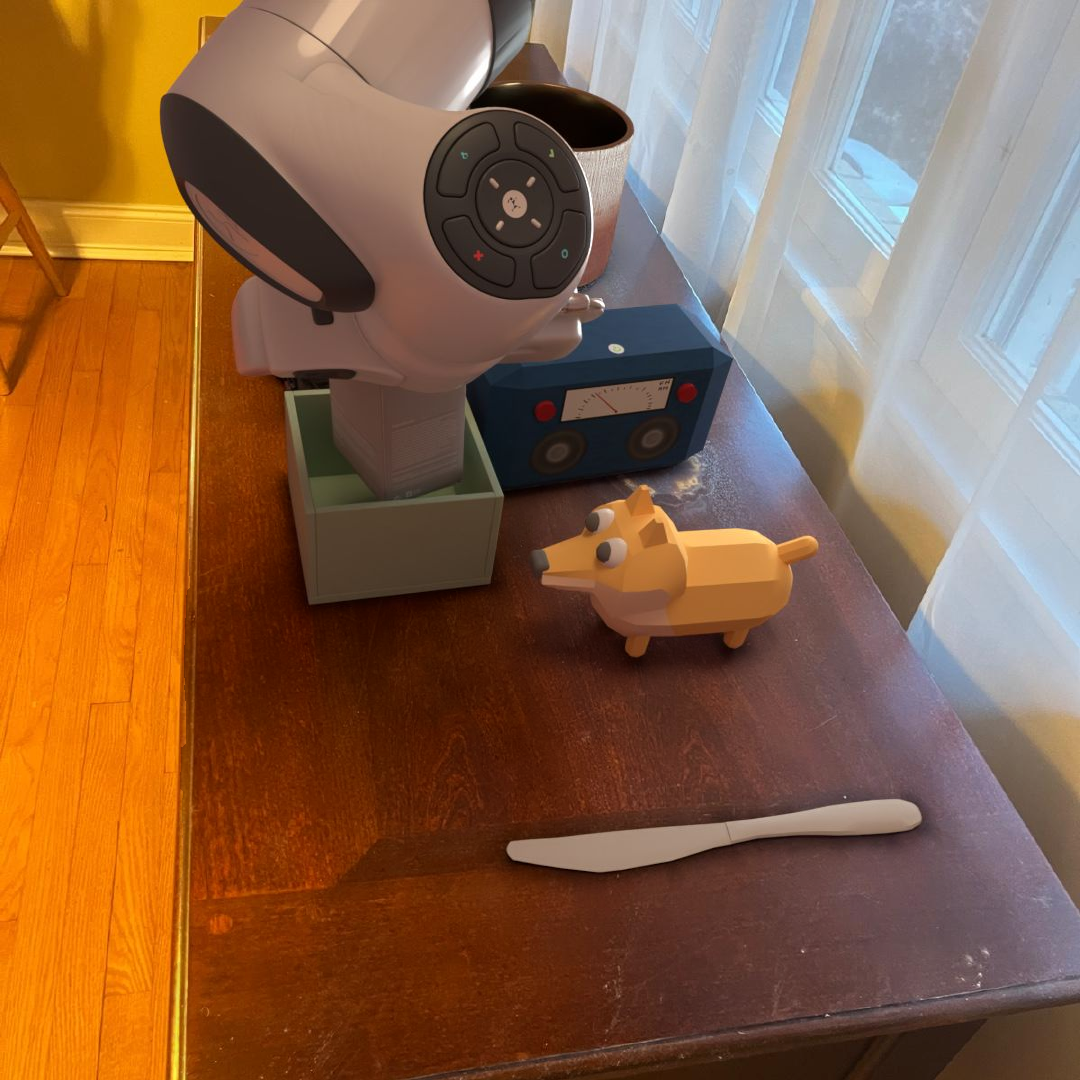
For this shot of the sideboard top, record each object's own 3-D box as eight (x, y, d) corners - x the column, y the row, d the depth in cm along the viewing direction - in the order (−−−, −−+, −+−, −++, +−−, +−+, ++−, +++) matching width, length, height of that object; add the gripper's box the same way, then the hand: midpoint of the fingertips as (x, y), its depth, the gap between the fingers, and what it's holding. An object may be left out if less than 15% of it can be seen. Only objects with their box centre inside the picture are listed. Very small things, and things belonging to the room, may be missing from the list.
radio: (481, 507, 79) (512, 285, 65) (448, 439, 84) (470, 221, 71) (706, 471, 86) (777, 265, 73) (662, 411, 92) (720, 209, 78)
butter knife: (933, 838, 62) (914, 794, 64) (510, 879, 56) (503, 830, 58) (929, 842, 62) (910, 799, 64) (509, 883, 57) (502, 835, 59)
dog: (505, 602, 72) (528, 467, 63) (754, 583, 77) (809, 456, 68) (528, 688, 67) (557, 554, 58) (794, 662, 72) (859, 535, 63)
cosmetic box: (463, 486, 70) (487, 289, 59) (373, 516, 67) (382, 311, 56) (405, 420, 75) (418, 225, 64) (318, 443, 71) (316, 242, 61)
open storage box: (308, 605, 69) (306, 514, 63) (288, 481, 78) (284, 390, 72) (490, 584, 73) (504, 496, 67) (451, 468, 82) (460, 381, 76)
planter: (473, 303, 101) (489, 151, 90) (430, 219, 112) (440, 76, 101) (630, 295, 106) (664, 151, 96) (574, 216, 118) (598, 80, 107)
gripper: (610, 242, 55) (537, 302, 68) (226, 247, 49) (227, 312, 62) (621, 356, 55) (546, 394, 68) (239, 374, 49) (238, 412, 62)
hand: (392, 355), depth 65 cm, fingers closed on cosmetic box, 7 cm apart
